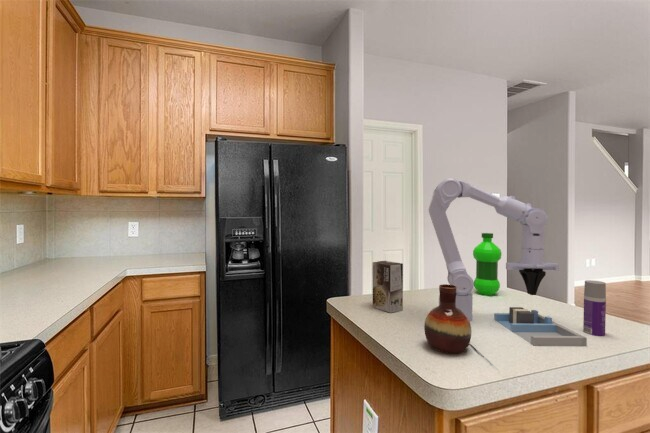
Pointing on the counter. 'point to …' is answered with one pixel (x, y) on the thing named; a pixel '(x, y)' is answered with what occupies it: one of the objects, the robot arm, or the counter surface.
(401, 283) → the coffee box
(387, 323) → the counter surface
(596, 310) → the container
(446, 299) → the vase
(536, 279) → the robot arm
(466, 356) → the counter surface
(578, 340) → the board
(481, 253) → the plastic bottle
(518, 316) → the dark striped block
